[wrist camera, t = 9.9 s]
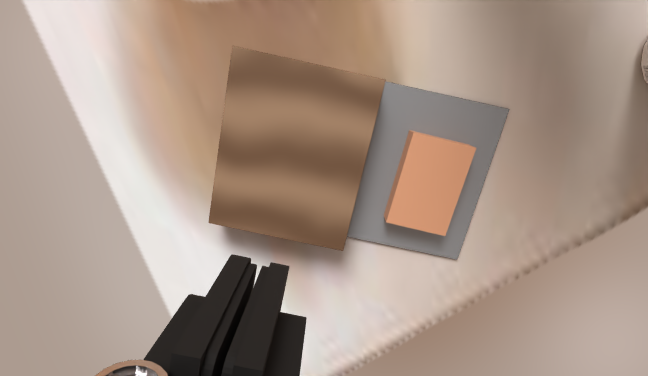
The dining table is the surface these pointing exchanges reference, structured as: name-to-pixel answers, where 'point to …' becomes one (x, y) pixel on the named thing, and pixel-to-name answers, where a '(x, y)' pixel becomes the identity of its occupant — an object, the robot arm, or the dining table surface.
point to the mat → (386, 150)
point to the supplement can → (645, 61)
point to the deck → (292, 147)
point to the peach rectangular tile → (428, 182)
